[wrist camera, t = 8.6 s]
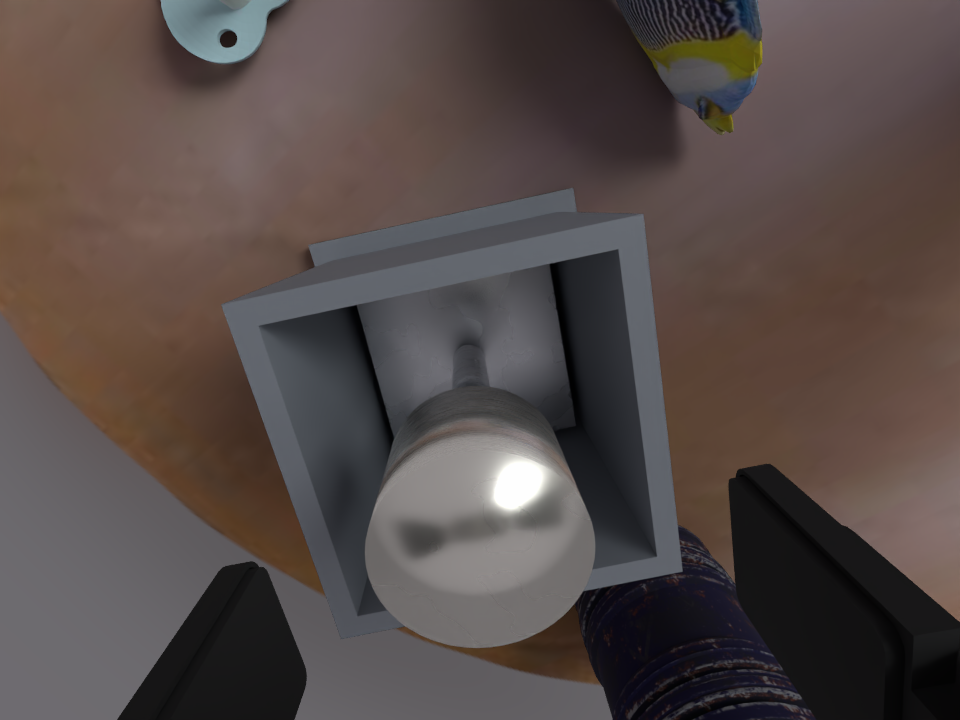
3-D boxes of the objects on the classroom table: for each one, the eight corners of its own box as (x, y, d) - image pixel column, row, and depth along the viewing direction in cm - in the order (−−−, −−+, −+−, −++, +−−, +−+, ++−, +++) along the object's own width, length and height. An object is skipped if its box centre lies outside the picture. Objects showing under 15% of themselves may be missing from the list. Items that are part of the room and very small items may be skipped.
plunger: (542, 244, 25) (674, 300, 10) (571, 418, 28) (711, 679, 12) (356, 284, 25) (193, 401, 10) (402, 453, 28) (332, 752, 13)
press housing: (569, 188, 27) (676, 168, 14) (604, 425, 31) (713, 589, 18) (313, 243, 27) (173, 276, 14) (380, 471, 31) (321, 666, 18)
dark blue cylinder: (661, 659, 36) (790, 950, 22) (543, 609, 35) (600, 888, 21) (743, 554, 34) (948, 802, 20) (621, 494, 33) (748, 718, 18)
